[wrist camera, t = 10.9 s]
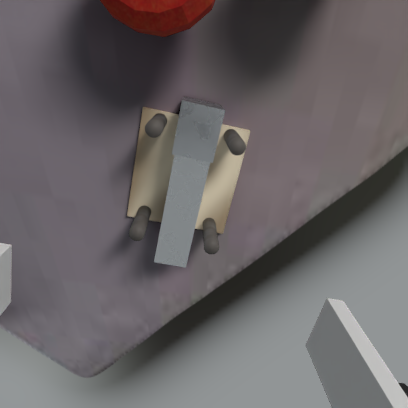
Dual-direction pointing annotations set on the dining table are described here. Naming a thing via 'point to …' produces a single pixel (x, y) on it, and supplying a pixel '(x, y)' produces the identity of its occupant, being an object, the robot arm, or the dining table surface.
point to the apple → (158, 14)
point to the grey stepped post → (188, 177)
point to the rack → (161, 170)
